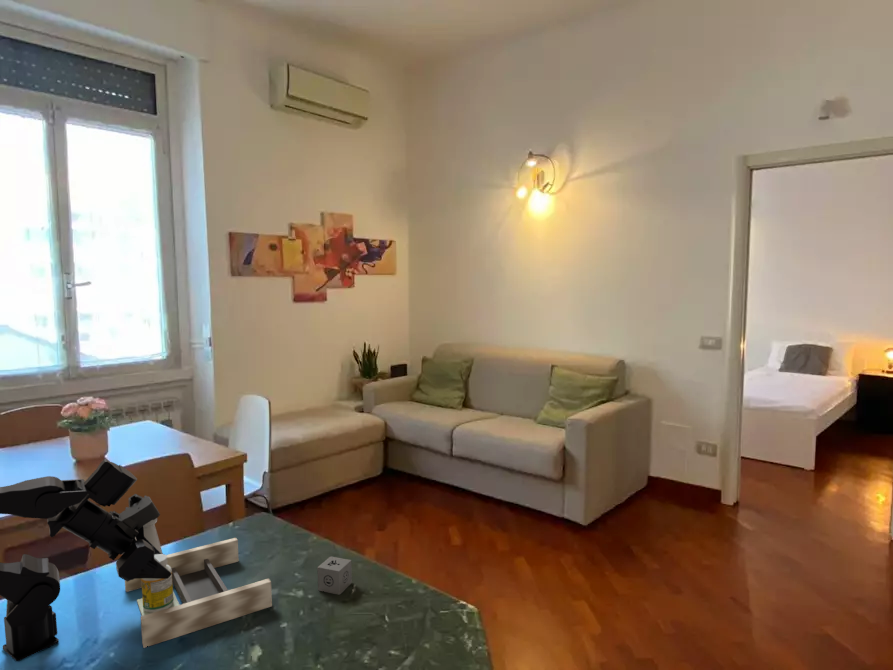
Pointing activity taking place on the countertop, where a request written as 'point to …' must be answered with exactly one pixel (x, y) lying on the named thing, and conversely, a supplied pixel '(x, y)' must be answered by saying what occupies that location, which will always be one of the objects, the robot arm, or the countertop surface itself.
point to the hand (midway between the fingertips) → (165, 566)
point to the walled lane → (201, 594)
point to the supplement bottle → (157, 590)
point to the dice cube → (334, 575)
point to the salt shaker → (152, 534)
